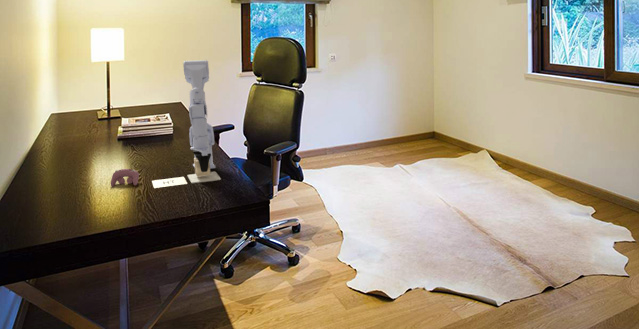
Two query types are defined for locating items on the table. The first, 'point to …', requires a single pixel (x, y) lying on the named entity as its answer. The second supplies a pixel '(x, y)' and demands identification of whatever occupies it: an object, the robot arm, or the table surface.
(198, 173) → the maple block
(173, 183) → the cream card
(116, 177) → the video game controller
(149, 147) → the table surface
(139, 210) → the table surface
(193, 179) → the grey mat
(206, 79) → the robot arm
